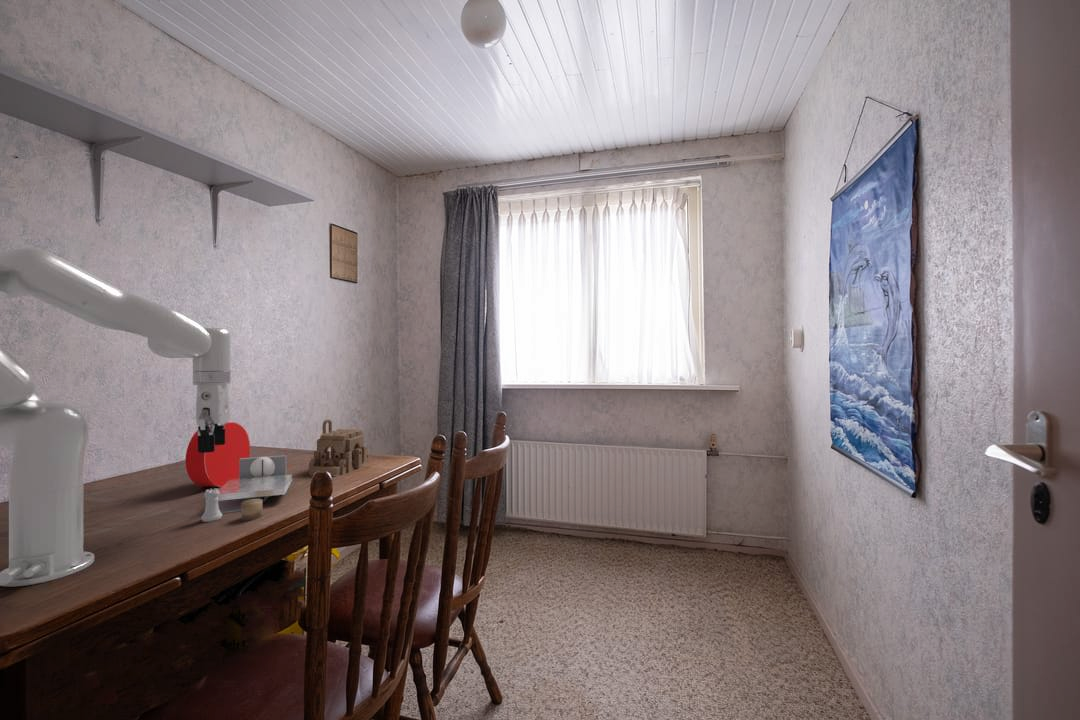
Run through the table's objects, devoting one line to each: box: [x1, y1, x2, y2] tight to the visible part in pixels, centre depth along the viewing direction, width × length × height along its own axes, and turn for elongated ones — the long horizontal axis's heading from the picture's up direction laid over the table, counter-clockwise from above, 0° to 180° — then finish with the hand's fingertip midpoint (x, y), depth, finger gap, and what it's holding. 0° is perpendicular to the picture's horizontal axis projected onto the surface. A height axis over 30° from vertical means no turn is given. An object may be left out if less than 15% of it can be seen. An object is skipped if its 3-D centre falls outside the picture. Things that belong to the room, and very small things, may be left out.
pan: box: [218, 474, 293, 501], centre depth 128 cm, size 16×16×4 cm
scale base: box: [201, 455, 287, 517], centre depth 129 cm, size 21×20×11 cm
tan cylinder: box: [240, 499, 264, 522], centre depth 113 cm, size 4×4×5 cm
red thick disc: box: [185, 421, 251, 488], centre depth 145 cm, size 20×6×20 cm, turn 178°
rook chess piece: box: [200, 487, 223, 523], centre depth 113 cm, size 4×4×8 cm
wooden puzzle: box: [308, 419, 370, 477], centre depth 163 cm, size 22×15×19 cm, turn 173°
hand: (212, 448), depth 113 cm, fingers open, 9 cm apart
